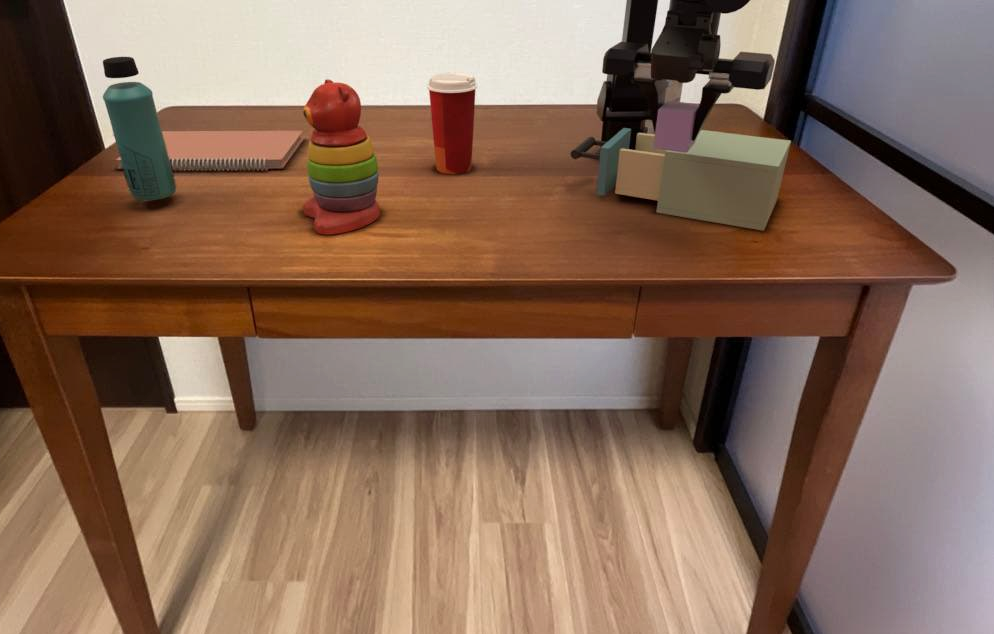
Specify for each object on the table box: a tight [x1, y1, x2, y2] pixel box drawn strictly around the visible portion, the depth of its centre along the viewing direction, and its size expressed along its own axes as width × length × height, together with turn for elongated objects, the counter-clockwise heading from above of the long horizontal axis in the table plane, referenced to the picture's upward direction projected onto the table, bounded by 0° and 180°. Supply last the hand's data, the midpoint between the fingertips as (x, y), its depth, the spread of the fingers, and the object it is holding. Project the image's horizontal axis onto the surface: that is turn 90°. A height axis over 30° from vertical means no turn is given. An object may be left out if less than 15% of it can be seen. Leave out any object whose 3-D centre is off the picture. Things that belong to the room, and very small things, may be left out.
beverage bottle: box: [102, 56, 178, 202], centre depth 99 cm, size 6×7×20 cm
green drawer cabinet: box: [655, 129, 792, 232], centre depth 98 cm, size 14×12×9 cm
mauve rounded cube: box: [653, 101, 700, 153], centre depth 88 cm, size 4×4×5 cm
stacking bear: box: [302, 78, 381, 235], centre depth 94 cm, size 11×10×18 cm
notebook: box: [114, 130, 305, 172], centre depth 122 cm, size 27×17×2 cm, turn 88°
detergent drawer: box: [570, 128, 666, 202], centre depth 102 cm, size 18×10×7 cm, turn 62°
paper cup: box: [426, 72, 479, 175], centre depth 111 cm, size 8×8×14 cm
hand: (675, 137), depth 89 cm, fingers closed on mauve rounded cube, 4 cm apart
